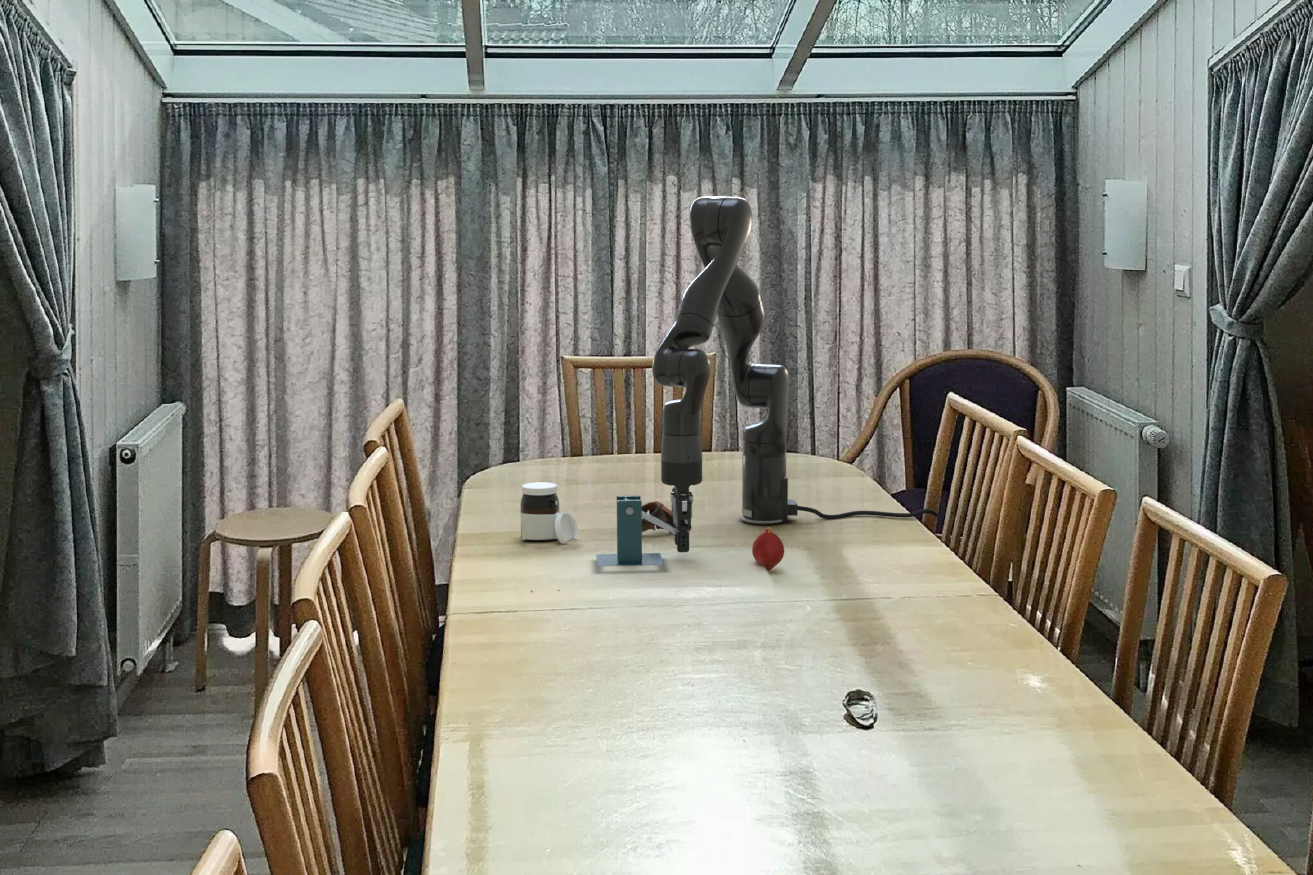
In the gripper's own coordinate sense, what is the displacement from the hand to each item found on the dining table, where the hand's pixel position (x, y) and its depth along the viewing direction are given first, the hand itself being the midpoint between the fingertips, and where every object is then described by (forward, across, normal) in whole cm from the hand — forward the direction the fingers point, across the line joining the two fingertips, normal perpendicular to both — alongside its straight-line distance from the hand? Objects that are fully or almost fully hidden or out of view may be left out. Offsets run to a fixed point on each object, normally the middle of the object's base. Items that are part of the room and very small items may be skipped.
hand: (681, 547), depth 255 cm
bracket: (+3, 0, +10) cm, 10 cm away
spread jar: (+4, +19, +25) cm, 31 cm away
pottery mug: (+4, +24, +3) cm, 24 cm away
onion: (+4, -5, -15) cm, 16 cm away
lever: (-4, 0, +6) cm, 7 cm away
